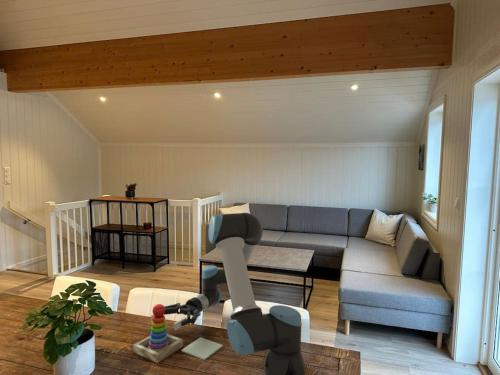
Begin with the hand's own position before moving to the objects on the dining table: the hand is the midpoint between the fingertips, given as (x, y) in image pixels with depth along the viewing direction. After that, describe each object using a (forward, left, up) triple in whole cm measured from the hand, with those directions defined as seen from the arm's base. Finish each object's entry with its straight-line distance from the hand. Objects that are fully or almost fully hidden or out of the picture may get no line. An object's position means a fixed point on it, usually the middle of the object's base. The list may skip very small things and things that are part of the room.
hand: (162, 322), depth 143 cm
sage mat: (-16, -7, -10) cm, 20 cm away
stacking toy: (-1, +3, -10) cm, 11 cm away
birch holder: (-1, +3, -10) cm, 10 cm away
